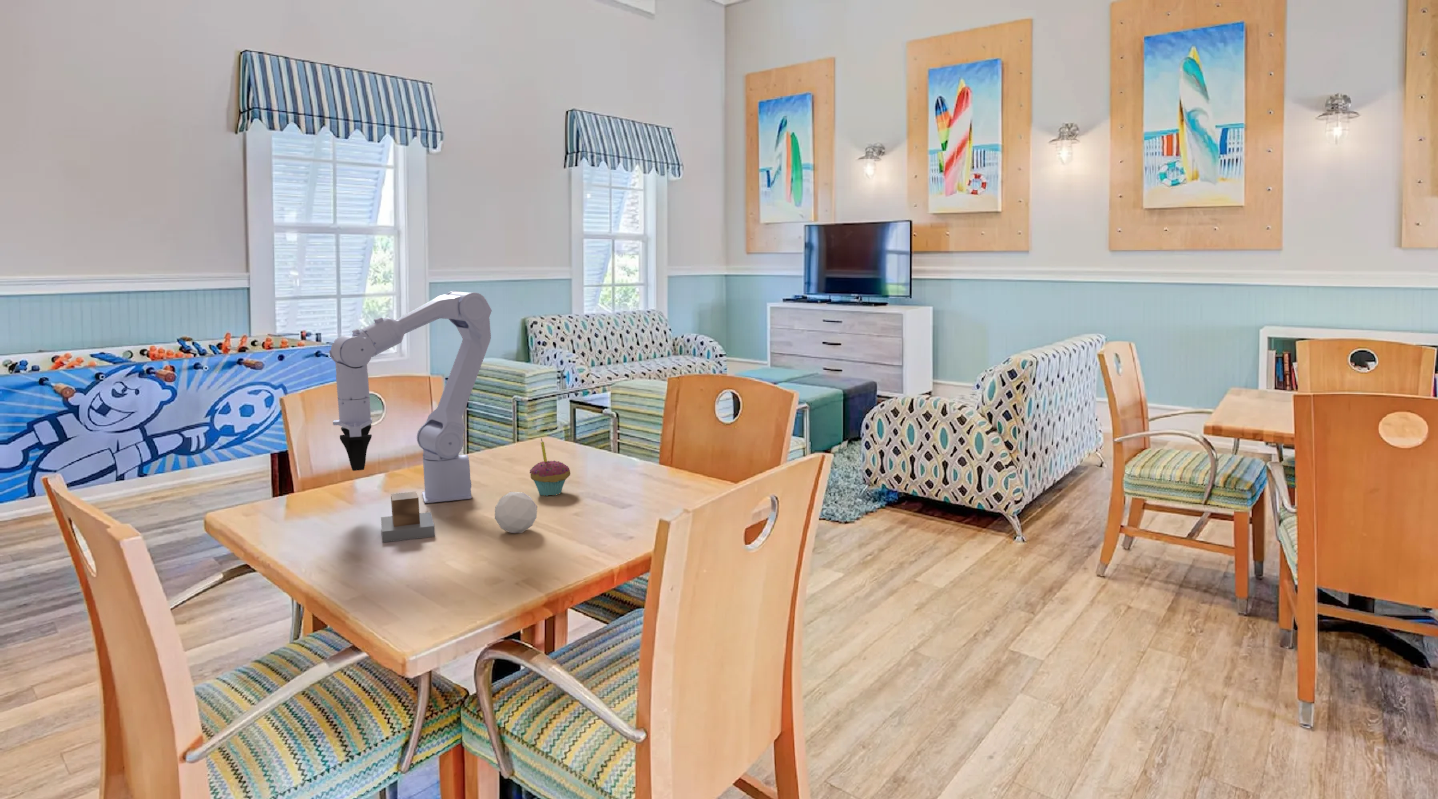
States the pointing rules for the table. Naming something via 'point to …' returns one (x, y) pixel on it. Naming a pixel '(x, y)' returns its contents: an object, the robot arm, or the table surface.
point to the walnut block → (405, 509)
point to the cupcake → (549, 475)
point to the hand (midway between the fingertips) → (358, 465)
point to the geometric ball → (515, 512)
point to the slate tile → (407, 529)
